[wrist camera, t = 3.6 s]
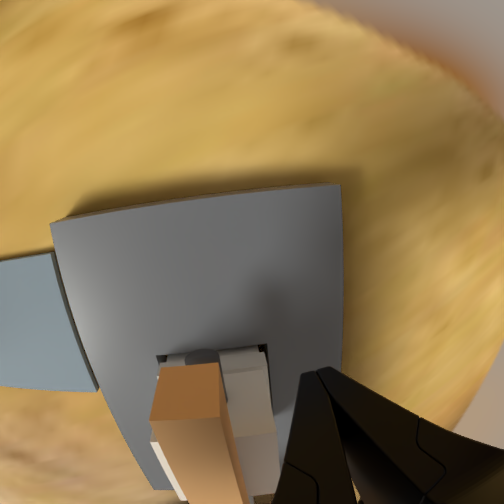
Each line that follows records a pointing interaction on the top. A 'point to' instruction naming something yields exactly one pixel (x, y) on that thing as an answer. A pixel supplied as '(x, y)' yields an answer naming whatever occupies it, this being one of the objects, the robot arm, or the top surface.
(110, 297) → the socket block
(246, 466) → the plug
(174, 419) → the tan wooden bar
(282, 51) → the top surface
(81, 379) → the mat
